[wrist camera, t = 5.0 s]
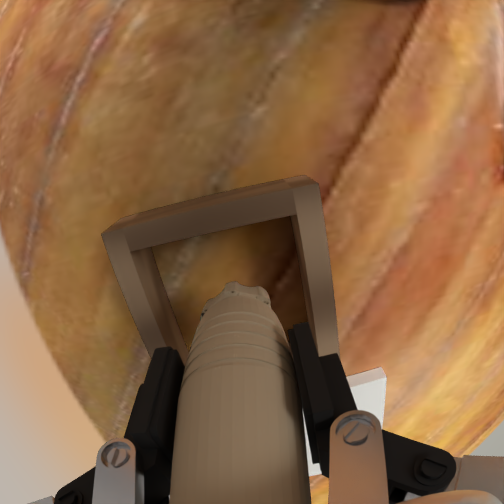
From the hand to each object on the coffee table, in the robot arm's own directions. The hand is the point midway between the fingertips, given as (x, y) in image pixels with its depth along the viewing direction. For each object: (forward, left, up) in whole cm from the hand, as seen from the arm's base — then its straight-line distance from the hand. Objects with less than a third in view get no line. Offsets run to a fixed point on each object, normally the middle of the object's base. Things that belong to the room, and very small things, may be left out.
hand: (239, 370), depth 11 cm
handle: (0, 0, -4) cm, 4 cm away
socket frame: (+1, 0, -8) cm, 8 cm away
